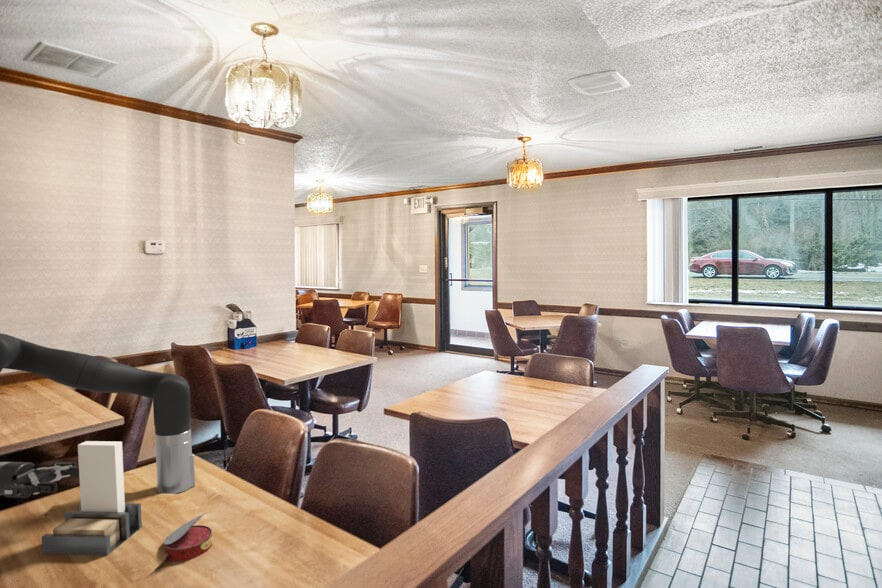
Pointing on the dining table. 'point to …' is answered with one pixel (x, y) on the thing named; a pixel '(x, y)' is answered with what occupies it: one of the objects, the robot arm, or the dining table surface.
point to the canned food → (188, 541)
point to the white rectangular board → (101, 476)
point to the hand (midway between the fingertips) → (71, 479)
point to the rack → (94, 543)
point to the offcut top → (87, 527)
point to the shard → (52, 509)
